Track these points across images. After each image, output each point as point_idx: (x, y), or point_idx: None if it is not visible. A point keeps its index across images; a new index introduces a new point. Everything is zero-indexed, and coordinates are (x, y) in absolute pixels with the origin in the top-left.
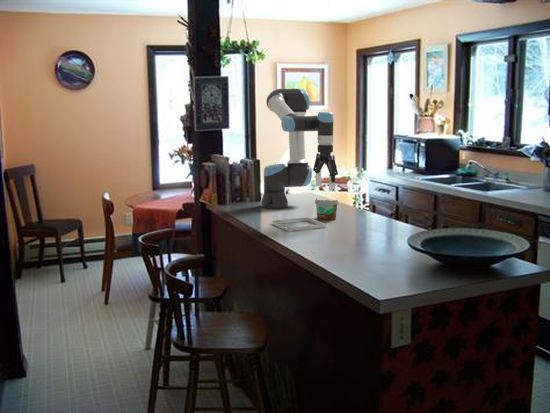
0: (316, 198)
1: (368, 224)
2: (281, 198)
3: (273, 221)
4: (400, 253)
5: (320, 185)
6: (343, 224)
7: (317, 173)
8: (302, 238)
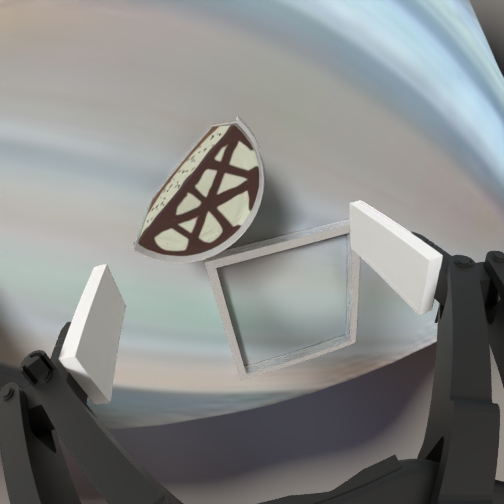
0: (142, 253)
1: (357, 35)
2: None
3: (250, 375)
4: None
5: (108, 270)
6: (329, 130)
7: (102, 389)
8: None
